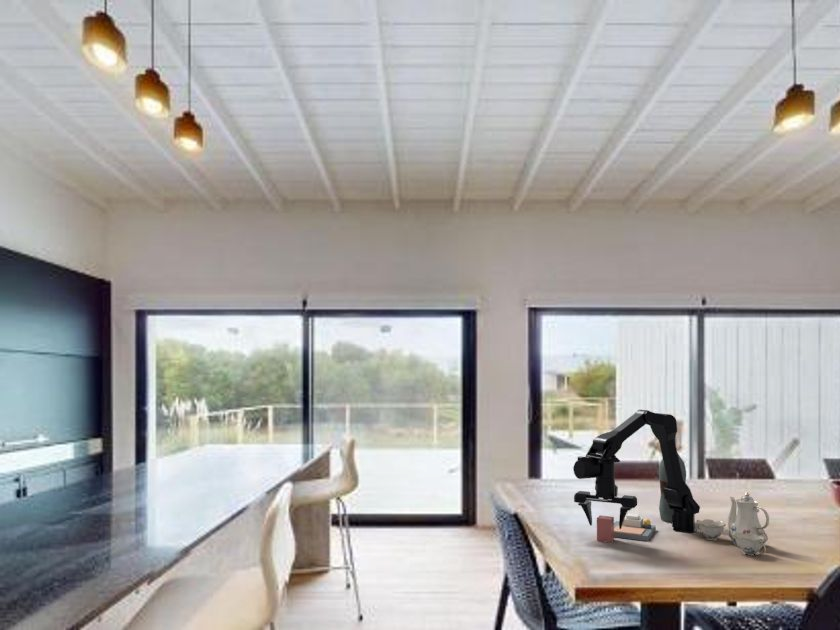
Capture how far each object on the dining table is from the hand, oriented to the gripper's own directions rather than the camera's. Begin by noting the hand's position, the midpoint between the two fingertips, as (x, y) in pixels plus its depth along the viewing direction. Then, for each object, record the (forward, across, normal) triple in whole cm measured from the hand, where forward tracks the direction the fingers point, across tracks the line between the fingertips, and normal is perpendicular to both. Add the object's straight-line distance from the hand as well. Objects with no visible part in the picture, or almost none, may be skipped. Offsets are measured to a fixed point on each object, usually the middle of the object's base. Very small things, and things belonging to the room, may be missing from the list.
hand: (605, 527), depth 218 cm
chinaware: (+4, -38, -13) cm, 40 cm away
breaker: (+2, -5, -16) cm, 17 cm away
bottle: (+4, -15, -39) cm, 42 cm away
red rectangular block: (+4, 0, 0) cm, 4 cm away
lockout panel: (+4, -6, -13) cm, 15 cm away
